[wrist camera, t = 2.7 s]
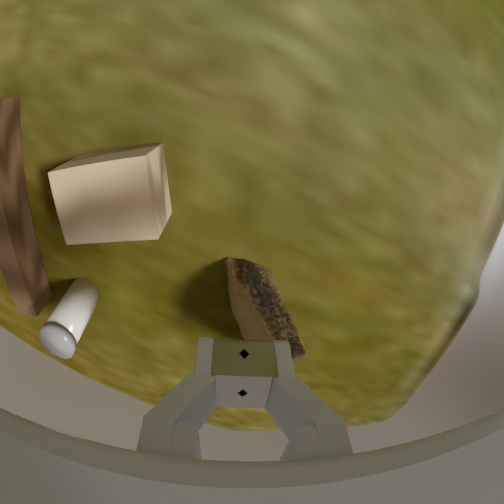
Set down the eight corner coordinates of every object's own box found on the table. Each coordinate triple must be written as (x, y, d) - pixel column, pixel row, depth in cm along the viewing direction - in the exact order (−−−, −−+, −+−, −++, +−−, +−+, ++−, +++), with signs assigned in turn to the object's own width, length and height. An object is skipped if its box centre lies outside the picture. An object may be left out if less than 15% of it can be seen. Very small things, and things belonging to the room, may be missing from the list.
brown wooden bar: (-1, 101, 18) (-28, 107, 14) (19, 95, 18) (-8, 100, 15) (33, 291, 29) (18, 312, 25) (52, 294, 29) (37, 316, 25)
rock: (292, 366, 32) (342, 311, 26) (247, 415, 25) (298, 367, 20) (222, 304, 35) (253, 239, 30) (168, 339, 29) (189, 270, 23)
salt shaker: (67, 275, 28) (33, 325, 21) (97, 278, 28) (65, 332, 21) (75, 303, 30) (46, 354, 23) (104, 307, 30) (78, 361, 23)
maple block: (78, 155, 22) (47, 172, 18) (163, 142, 22) (145, 155, 18) (91, 218, 25) (66, 244, 21) (172, 211, 25) (158, 239, 21)
